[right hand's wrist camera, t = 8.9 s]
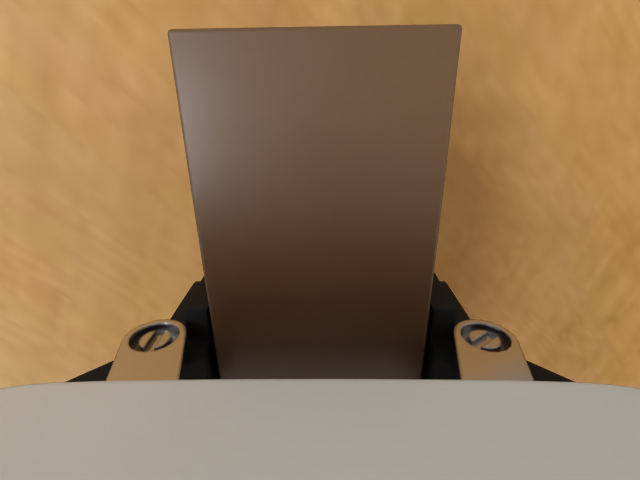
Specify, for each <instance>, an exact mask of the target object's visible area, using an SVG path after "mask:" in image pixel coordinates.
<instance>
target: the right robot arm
mask: <svg viewBox="0 0 640 480" xmlns="http://www.w3.org/2000/svg"><path fill="white" fill-rule="evenodd" d="M0 480H640V389H638V388H633V387H625V386H617V385H609V384H596V383H580V382H574V381H571V380H569V379H567V378H565V377H562V376H560V375H558V374H556V373H553V372H551V371H549V370H547V369H544V368H542V367H540V366H538V365H535V364H533V363H531V362H529V361H526V359H525V357H524V354H523V352H522V349H521V347H520V344H519V342H518V340H517V339H516V337H515V335H513V334H512V333H511V332H510V331H509V330H507V329H506V328H504V327H502V326H500V325H498V324H495V323H492V322H489V321H484V320H470V318H469V317H468V315H467V314H466V312H465V311H464V309H463V308H462V306H461V305H460V303H459V301H458V300H457V298H456V297H455V295H454V294H453V292H452V291H451V289H450V288H449V286H448V285H447V283H446V282H444V281H439V279H438V278H437V276H436V275H435V273H434V275H433V283H432V292H431V300H430V309H429V318H428V326H427V335H426V344H425V352H424V361H423V370H422V378H421V380H418V379H220V376H219V369H218V363H217V356H216V349H215V343H214V336H213V330H212V323H211V316H210V310H209V303H208V297H207V290H206V283H205V277H203V278H202V280H201V281H197V282H195V283H194V284H193V285H192V287H191V288H190V290H189V291H188V293H187V295H186V296H185V298H184V299H183V301H182V302H181V304H180V305H179V307H178V308H177V310H176V311H175V313H174V314H173V316H172V317H171V319H170V320H156V321H151V322H148V323H145V324H142V325H140V326H138V327H136V328H134V329H133V330H131V331H130V332H129V333H128V334H127V335H125V337H124V339H123V340H122V342H121V344H120V347H119V349H118V352H117V354H116V357H115V359H114V361H112V362H109V363H107V364H105V365H103V366H100V367H98V368H96V369H94V370H91V371H89V372H87V373H85V374H82V375H80V376H78V377H76V378H73V379H71V380H69V381H67V382H60V383H44V384H32V385H22V386H15V387H8V388H1V389H0Z"/></svg>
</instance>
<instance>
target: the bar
mask: <svg viewBox="0 0 640 480" xmlns="http://www.w3.org/2000/svg"><path fill="white" fill-rule="evenodd" d="M461 32H462V27H461V25H459V24H443V25H385V26H326V27H267V28H208V29H171V30H169V31H168V39H169V45H170V52H171V59H172V65H173V72H174V79H175V85H176V92H177V98H178V105H179V112H180V118H181V125H182V131H183V138H184V145H185V151H186V158H187V164H188V171H189V178H190V184H191V191H192V197H193V204H194V211H195V217H196V224H197V230H198V237H199V244H200V250H201V257H202V263H203V270H204V277H205V283H206V290H207V297H208V303H209V310H210V316H211V323H212V330H213V336H214V343H215V349H216V356H217V363H218V369H219V376H220V379H418V380H421V378H422V370H423V361H424V352H425V344H426V335H427V326H428V318H429V309H430V300H431V292H432V283H433V275H434V266H435V257H436V249H437V240H438V231H439V223H440V214H441V205H442V197H443V188H444V179H445V171H446V162H447V153H448V145H449V136H450V127H451V119H452V110H453V101H454V93H455V84H456V75H457V67H458V58H459V49H460V41H461Z"/></svg>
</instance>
